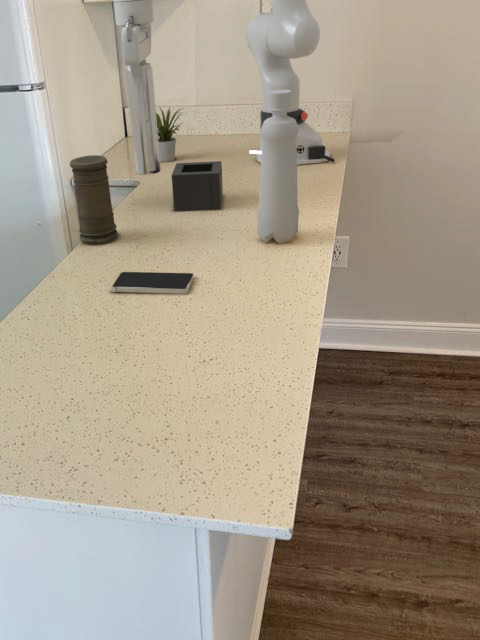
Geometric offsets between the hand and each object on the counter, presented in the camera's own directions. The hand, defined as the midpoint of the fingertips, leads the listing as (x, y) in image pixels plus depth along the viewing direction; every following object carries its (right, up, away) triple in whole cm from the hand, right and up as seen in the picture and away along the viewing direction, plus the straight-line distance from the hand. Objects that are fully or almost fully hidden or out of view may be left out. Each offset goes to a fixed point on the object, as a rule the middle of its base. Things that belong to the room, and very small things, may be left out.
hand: (140, 81), depth 163 cm
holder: (+15, -25, +14) cm, 32 cm away
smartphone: (+4, -56, -29) cm, 63 cm away
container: (-10, -39, -3) cm, 40 cm away
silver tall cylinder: (+2, -18, +12) cm, 21 cm away
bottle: (+32, -42, -12) cm, 54 cm away
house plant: (+7, +3, +56) cm, 56 cm away
